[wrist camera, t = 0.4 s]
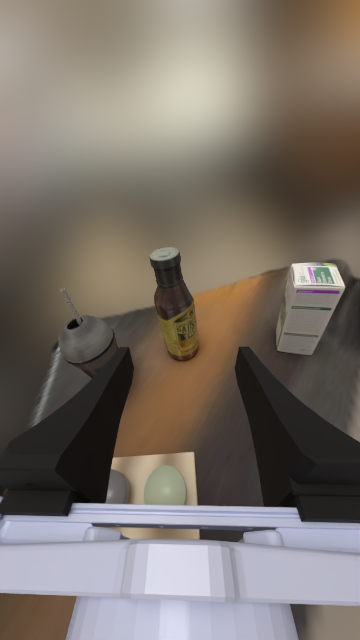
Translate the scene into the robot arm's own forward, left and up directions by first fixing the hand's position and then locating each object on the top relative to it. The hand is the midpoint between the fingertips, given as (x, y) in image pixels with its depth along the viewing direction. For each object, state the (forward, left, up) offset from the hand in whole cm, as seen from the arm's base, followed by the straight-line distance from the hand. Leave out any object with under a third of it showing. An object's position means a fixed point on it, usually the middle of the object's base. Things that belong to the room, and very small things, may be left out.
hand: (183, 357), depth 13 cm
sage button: (-6, +4, -18) cm, 19 cm away
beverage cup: (+8, +16, -20) cm, 27 cm away
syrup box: (+18, -15, -20) cm, 31 cm away
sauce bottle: (+16, +5, -20) cm, 26 cm away
